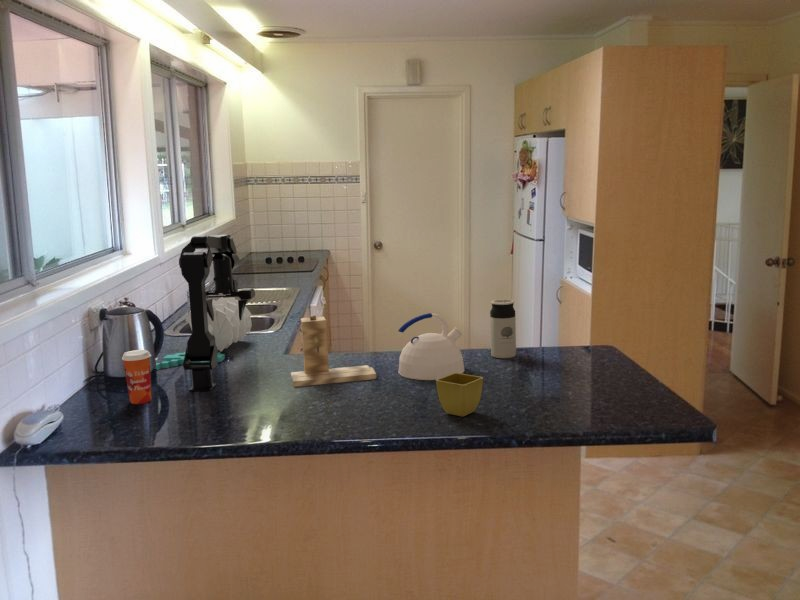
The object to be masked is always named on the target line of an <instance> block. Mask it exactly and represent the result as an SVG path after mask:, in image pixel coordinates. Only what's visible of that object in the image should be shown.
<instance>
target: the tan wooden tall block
mask: <svg viewBox="0 0 800 600" xmlns="http://www.w3.org/2000/svg"><path fill="white" fill-rule="evenodd" d="M300 328H301V331H300V332H301V343H302V344H301V345H302V356H303V357H302V358H303V371H304V374H306V373H316V372H327V371H329V369H330V368H329V367H330V366H329V365H330V364H329V352H328V350H329V349H328V336H327V335H328V333H327V320H326V318H325V316H316V314H315V315H312V314H311V315H310V316H309V317H302V318H300Z"/></svg>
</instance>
